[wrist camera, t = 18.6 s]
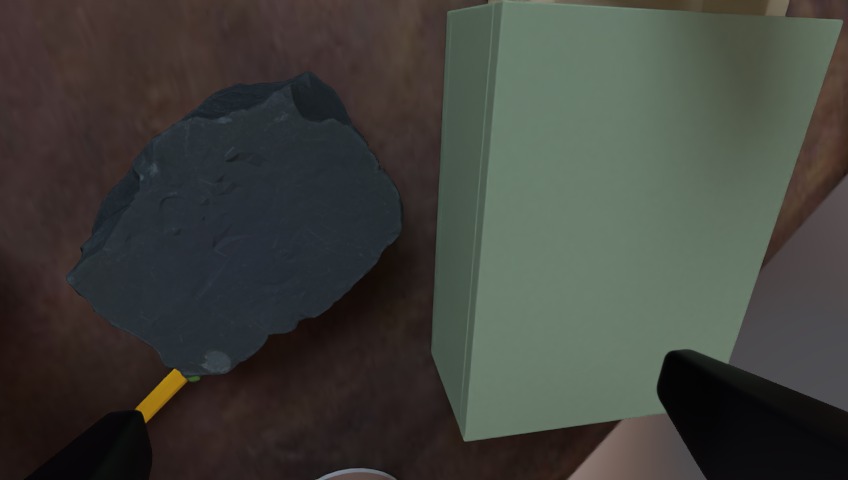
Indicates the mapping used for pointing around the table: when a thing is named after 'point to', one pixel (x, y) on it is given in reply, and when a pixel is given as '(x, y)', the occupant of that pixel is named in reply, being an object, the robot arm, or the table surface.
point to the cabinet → (606, 198)
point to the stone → (239, 225)
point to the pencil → (161, 394)
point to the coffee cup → (357, 475)
